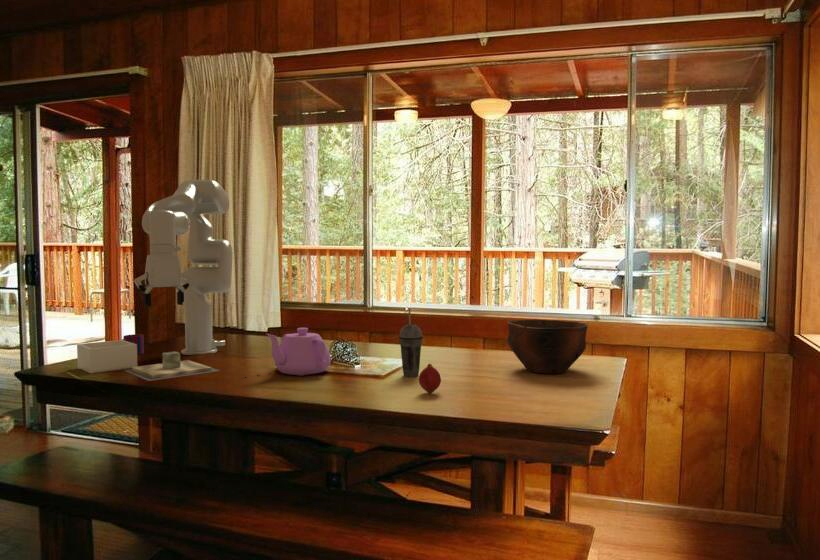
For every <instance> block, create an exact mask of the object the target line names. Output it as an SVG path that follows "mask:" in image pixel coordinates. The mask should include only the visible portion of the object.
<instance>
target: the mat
mask: <svg viewBox="0 0 820 560" xmlns="http://www.w3.org/2000/svg"><path fill="white" fill-rule="evenodd" d="M122 370H123V371H124V372H126V373H129V374H131V375H133V376H135V377H138V378H140V379H143V380H145V381H147V382H153V381H158V380H166V379H173V378H180V377H187V376H194V375H202V374H208V373H215V372H221V370H219V369H217V368H213V367H212V371H206V372H199V373H192V374H185V375H178V376H170V377H163V378H156V379H152V378H150V377H147V376H145V375H142V374H140V373H137V372H135V371H133V370H132V368H129V369H122Z"/></svg>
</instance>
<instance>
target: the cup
mask: <svg viewBox="0 0 820 560" xmlns="http://www.w3.org/2000/svg"><path fill="white" fill-rule="evenodd" d="M121 340H124V341H128V342H131V343H134V344H137V356H138V355H139V356H140V355H143V354H144V353H145V350H144V348H145V346H144V342H145V341H144V334H137V333H136V334H126V335H123V338H122V339H121Z"/></svg>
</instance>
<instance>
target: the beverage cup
mask: <svg viewBox="0 0 820 560" xmlns="http://www.w3.org/2000/svg"><path fill="white" fill-rule="evenodd" d="M411 318H412V317H411V309H408V324H405V325H404V326H403V327H402V328H401V329H400V331H399V334H398V339H399V345H400V354H401V355H400V356H401V365H402V373H403V377H405V378H415V377H416V378H417V377H419V375H420V365H421V352H422V345H423V338H424V335H423V332H422V330H421V328H420V327H419V326H418V325H417V324H413V323H412V321H411Z"/></svg>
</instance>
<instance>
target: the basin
mask: <svg viewBox="0 0 820 560" xmlns="http://www.w3.org/2000/svg"><path fill="white" fill-rule="evenodd" d="M76 351H77V352H76V353H77V369H78V370H79V369H81V370H82V371H84V372H87V373H89V374H96V373H103V372H104V373H105V372H111V371H112V372H113V371H121V370H129V369H132V367H137V366H138V355H137V344H134V343H131V342H128V341H124V340H122V339H119V340H109V341H108V340H107V341H97V342H87V343H86V342H85V343H77V344H76Z"/></svg>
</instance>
